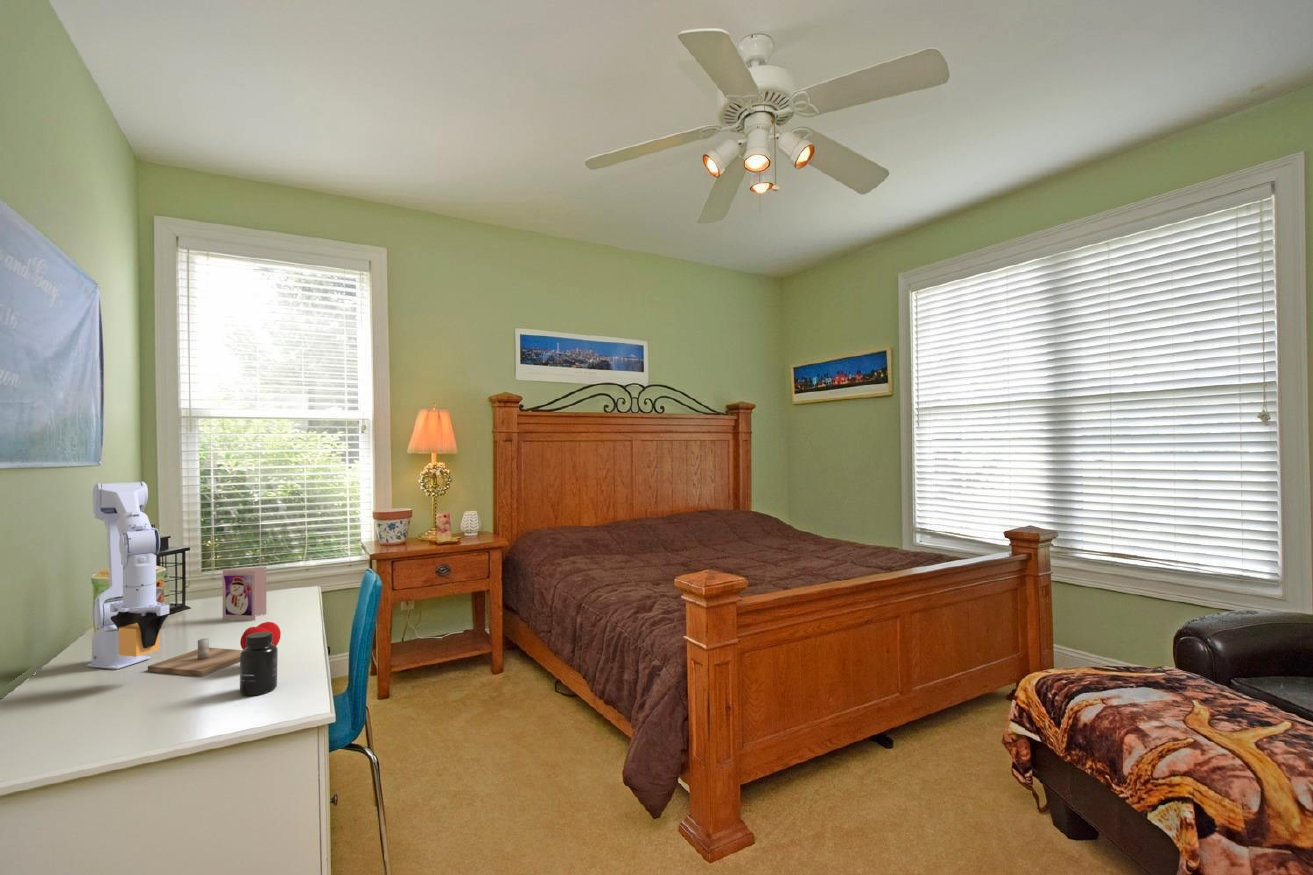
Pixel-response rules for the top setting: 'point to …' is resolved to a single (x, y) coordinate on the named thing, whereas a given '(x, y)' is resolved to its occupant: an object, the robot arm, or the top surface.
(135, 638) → the orange wooden cube
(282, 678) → the top surface
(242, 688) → the supplement bottle
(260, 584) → the greeting card
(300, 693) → the top surface
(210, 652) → the post board
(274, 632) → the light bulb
